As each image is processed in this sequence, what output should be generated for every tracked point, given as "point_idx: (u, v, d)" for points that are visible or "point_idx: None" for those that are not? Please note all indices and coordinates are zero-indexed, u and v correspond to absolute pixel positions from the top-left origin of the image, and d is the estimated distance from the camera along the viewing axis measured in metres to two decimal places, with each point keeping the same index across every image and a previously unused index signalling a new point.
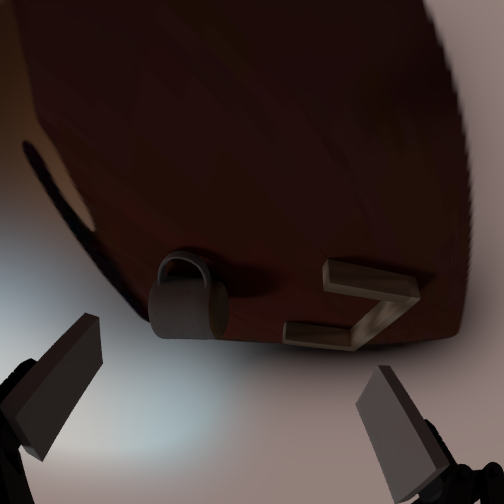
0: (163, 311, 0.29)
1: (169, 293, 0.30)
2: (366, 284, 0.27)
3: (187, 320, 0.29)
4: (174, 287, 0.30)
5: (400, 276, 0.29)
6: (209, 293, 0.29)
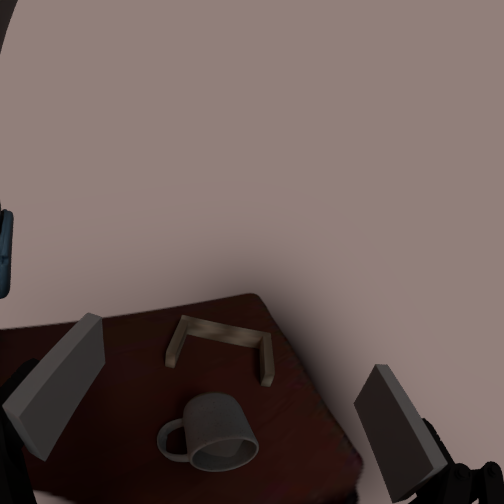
0: (194, 433, 0.24)
1: (186, 439, 0.24)
2: None
3: (197, 411, 0.26)
4: None
5: None
6: None
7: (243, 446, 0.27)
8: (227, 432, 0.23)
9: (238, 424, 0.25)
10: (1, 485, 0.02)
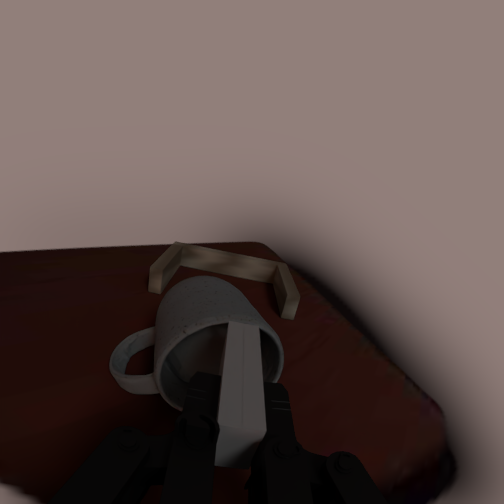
0: (167, 323, 0.15)
1: None
2: None
3: (178, 295, 0.17)
4: None
5: None
6: None
7: None
8: (227, 311, 0.14)
9: (247, 307, 0.16)
10: None
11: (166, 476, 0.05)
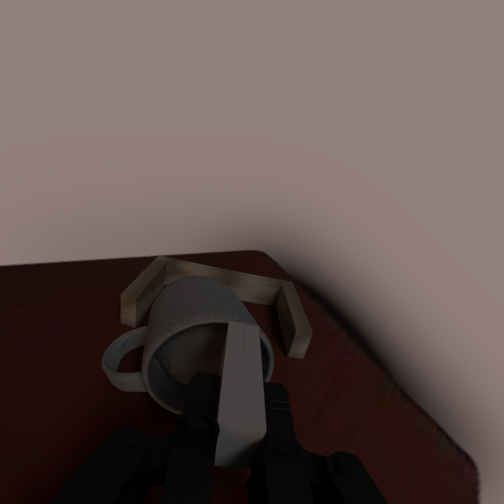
0: (156, 322, 0.15)
1: None
2: None
3: (169, 294, 0.17)
4: None
5: None
6: None
7: None
8: (214, 311, 0.14)
9: (236, 307, 0.16)
10: None
11: (166, 476, 0.05)
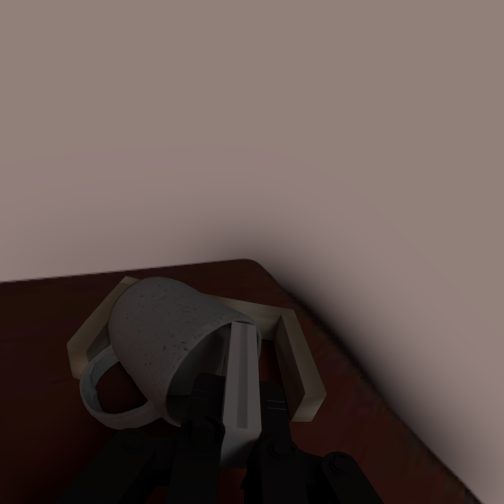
0: (150, 343, 0.13)
1: (135, 370, 0.13)
2: None
3: (138, 307, 0.15)
4: (134, 377, 0.13)
5: None
6: (108, 332, 0.16)
7: None
8: (214, 313, 0.14)
9: (219, 303, 0.16)
10: None
11: (171, 477, 0.05)
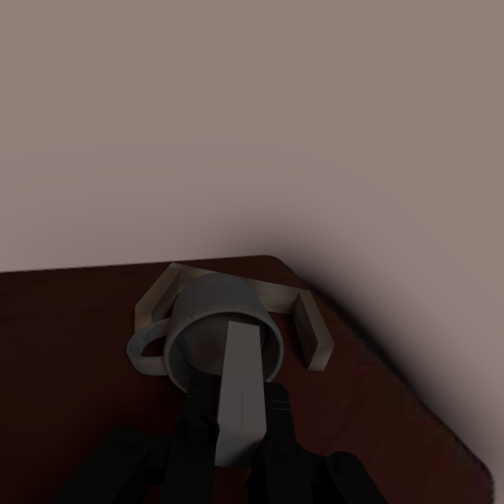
0: (180, 311, 0.17)
1: None
2: None
3: (192, 287, 0.20)
4: None
5: None
6: None
7: None
8: (231, 301, 0.16)
9: (252, 301, 0.18)
10: None
11: (166, 476, 0.05)
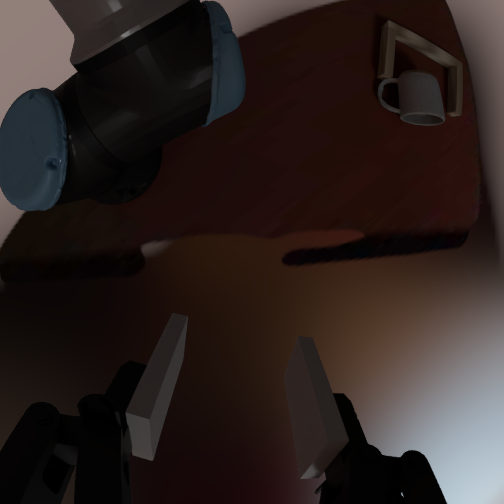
0: (413, 100, 0.31)
1: (403, 99, 0.33)
2: (384, 53, 0.32)
3: (417, 85, 0.30)
4: (400, 98, 0.33)
5: (381, 35, 0.32)
6: (400, 75, 0.32)
7: None
8: (435, 110, 0.30)
9: (440, 106, 0.30)
10: (113, 501, 0.04)
11: (78, 461, 0.04)
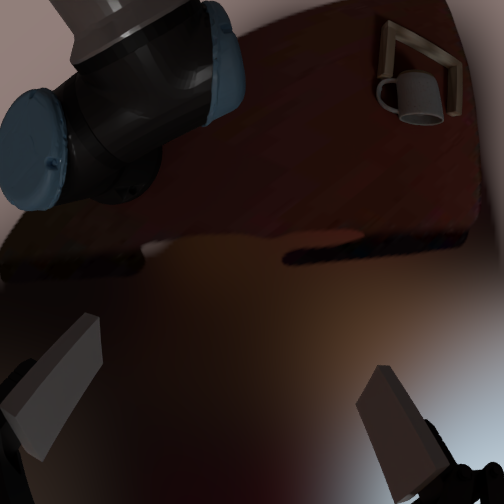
0: (412, 100, 0.31)
1: (402, 99, 0.33)
2: (384, 53, 0.32)
3: (415, 85, 0.30)
4: (399, 99, 0.33)
5: (381, 35, 0.32)
6: (399, 75, 0.32)
7: None
8: (434, 110, 0.30)
9: (439, 105, 0.30)
10: None
11: None
